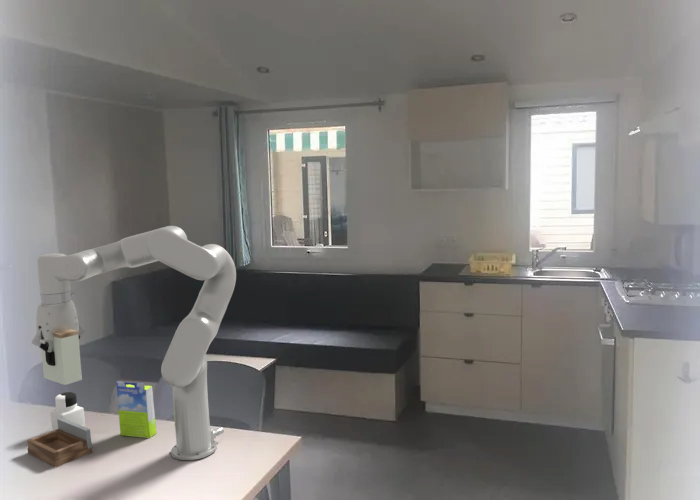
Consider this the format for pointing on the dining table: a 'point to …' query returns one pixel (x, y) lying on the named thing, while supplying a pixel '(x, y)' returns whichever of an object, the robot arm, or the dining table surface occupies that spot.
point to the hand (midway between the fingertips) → (61, 361)
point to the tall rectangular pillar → (64, 358)
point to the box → (136, 409)
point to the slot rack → (61, 443)
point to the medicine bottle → (67, 410)
